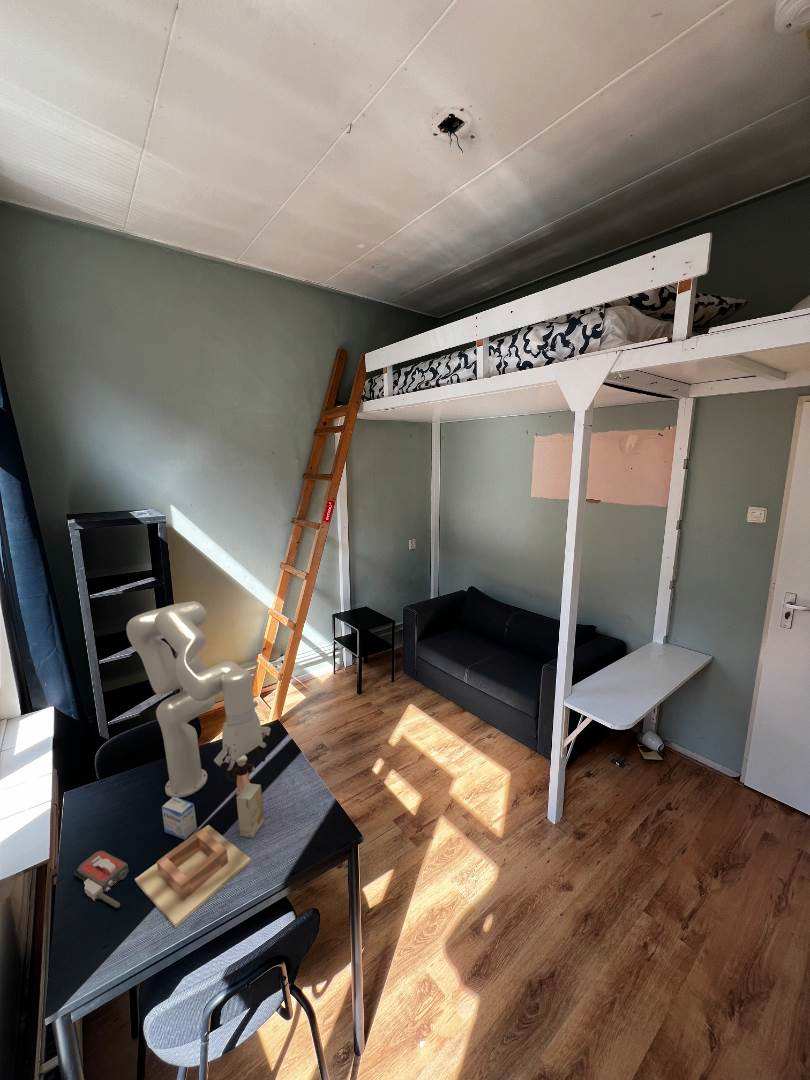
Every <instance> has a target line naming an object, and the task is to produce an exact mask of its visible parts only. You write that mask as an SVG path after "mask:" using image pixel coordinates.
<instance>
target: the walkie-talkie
mask: <svg viewBox="0 0 810 1080" xmlns="http://www.w3.org/2000/svg"><path fill="white" fill-rule="evenodd" d="M76 871H77V873H76ZM128 874H129V866H128V863H127V862H125V861H123V860H122V859H119V858H118V857H116V856H114V855H112V854H110V853H108V852H106V851H105V850H99V851H96V852H95V853H94V854H91V856H89V857H88V858H86V859H85V860H84V861H83V862H81V864H79V866H78V867H77V869H75V870H74V871H73V875H76V876H78V877H79V878H80V879H79V878H78V879H79V880H81V879H82V880H83V886H84V885H85V886H84V894H85V893H86V894H87V895H86V894H85V895H86V896H88V897H89V898H91V899H92V901H96V900H97V899H98V900H102V901H103V902H105V903H107V904H108V905H110V906H112V907H113V908H115V909H118V908H120V906H121V903H120V902H119V901H117V900H115V899H114V898H112V897H110V896H108V895H107V894H106V893H109V892H108V890H110V891H111V888H112V886H113V885H114V884H115V883H116V882H117V881H118V882H120V881H122V880H124V879H125V878H126V877H127V875H128ZM76 876H75V877H76ZM82 880H81V881H82ZM118 882H117V883H118ZM113 883H114V884H113ZM117 883H116V884H117ZM116 884H115V885H116ZM115 885H114V886H115ZM114 886H113V887H114ZM110 887H111V888H110ZM106 891H107V892H106ZM103 892H106V893H103ZM95 899H96V900H95Z"/></svg>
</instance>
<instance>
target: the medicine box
mask: <svg viewBox="0 0 810 1080" xmlns="http://www.w3.org/2000/svg"><path fill="white" fill-rule="evenodd" d="M161 811H162V818H163V819H162V820H163V826H164V827H163V828H164V833H166V834H167V835H171V836H173V837H177V838H179V839H180V840H181V839H182V840H184V841H185V840H187V839H188V838H189V837H190V836H192V835H193V834H192V833H195V831H196V830H197V829H198V826H197V819H196V811H195V803H193V802H190V801H187V800H184V799H182V798H177V797H171V798H170V799H169V800H168V801H166V802H165V804H163V805H162V806H161Z"/></svg>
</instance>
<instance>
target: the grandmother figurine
mask: <svg viewBox="0 0 810 1080" xmlns="http://www.w3.org/2000/svg"><path fill="white" fill-rule="evenodd" d="M247 760H248V757H247V756H246V754H245V755H244V756H242V757H240V758H239V759H237V760H236V761H235V763H237V766H235V768H234V769H235V776H236V794H235V796H238V795H239V794H240V793H241V791H242V790H243V789H244V788H245V786H246V785H247V784H248V783H250V775H249V771H248V770H250V771H252V773H253V772H256V768H255V767H254V764H251V763H247Z"/></svg>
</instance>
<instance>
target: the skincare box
mask: <svg viewBox="0 0 810 1080" xmlns="http://www.w3.org/2000/svg"><path fill="white" fill-rule="evenodd" d="M262 795H263V794H262V786H261V784H258V783H257V784H256V783H251V782H249V783H248V784H247V785H246V786H245V788H244V789H243V790H242V791H241V793H240V794H239V795H237V796H236V807H237V817H238V826H239V827H238V828H239V835H240V837H245V838H253V839H254V837H255V836H256V834H257V833H258V831H259V830H260V828H261V827H262V825H263V823H264V822H265V818H264V808H263V807H264V806H263V798H262Z"/></svg>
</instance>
